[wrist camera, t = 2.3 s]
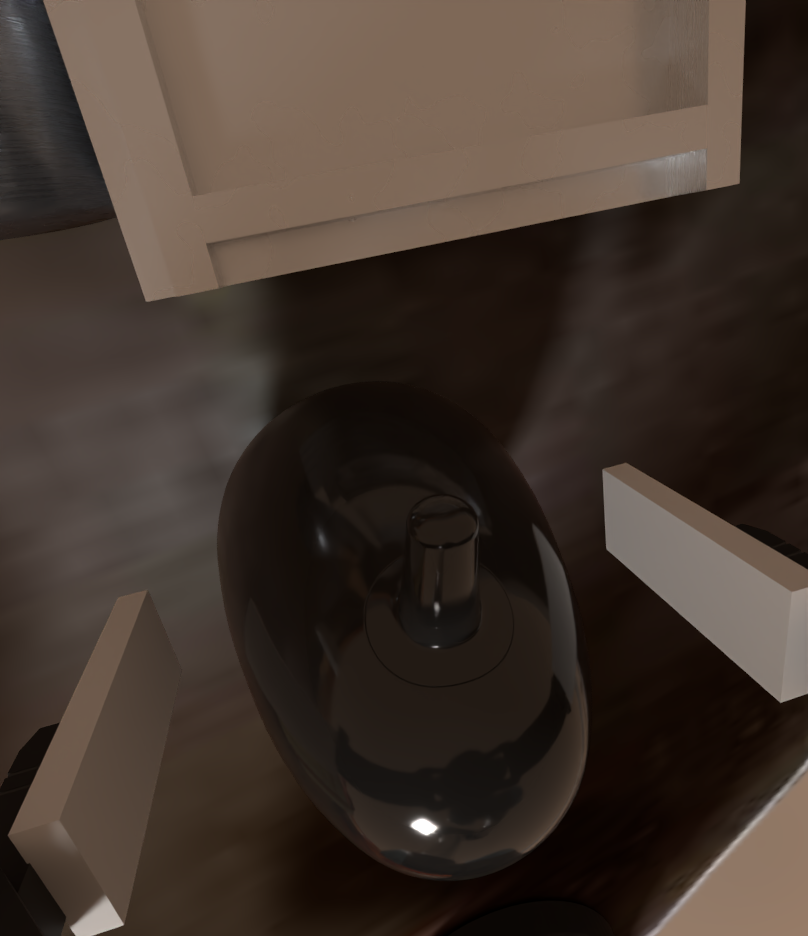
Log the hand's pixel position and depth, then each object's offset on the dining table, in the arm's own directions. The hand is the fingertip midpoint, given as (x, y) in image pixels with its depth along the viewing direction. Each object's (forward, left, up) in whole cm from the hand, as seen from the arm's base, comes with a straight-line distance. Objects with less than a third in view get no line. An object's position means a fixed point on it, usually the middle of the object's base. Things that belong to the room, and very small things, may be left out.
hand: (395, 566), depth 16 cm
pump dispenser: (0, 0, -8) cm, 8 cm away
